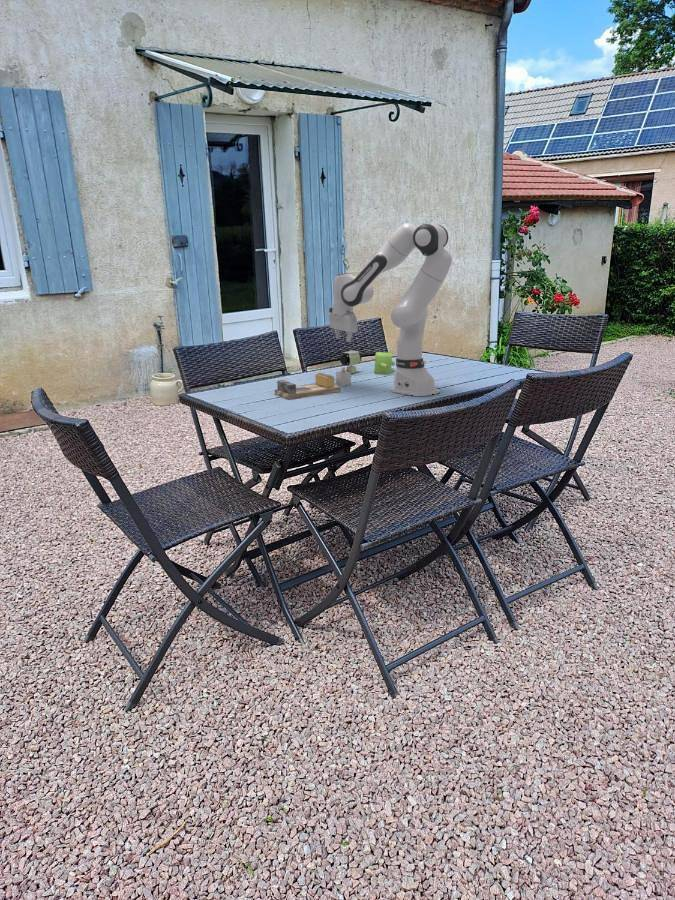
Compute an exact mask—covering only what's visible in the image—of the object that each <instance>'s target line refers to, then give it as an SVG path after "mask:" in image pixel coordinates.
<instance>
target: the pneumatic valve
mask: <svg viewBox="0 0 675 900" xmlns="http://www.w3.org/2000/svg"><path fill="white" fill-rule="evenodd" d="M362 358H363V357H362V353H361V351H360V350H353V349H349V351H344V352H343V351H342V352H341V355H340V356H339V361H340V363H341V366H346V367H345V371H348V372H351V375H353V374H356V373H357V372H356V371H357V366H355V365H359V364H361V362H362ZM352 373H353V374H352Z"/></svg>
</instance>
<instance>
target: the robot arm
mask: <svg viewBox="0 0 675 900" xmlns="http://www.w3.org/2000/svg"><path fill="white" fill-rule="evenodd" d="M448 242H449V232H448V231H447V229H446V228H445V227H444V226H443V225H440V224H436V223H431V222H430V223H422V224H420V225H419V226H416V225H415V224H413V223H411V222H404V223H402V225H401V226H399V227H398V228H396V230H394V231H393V233H392V234H391V235H390V236H389V237H388V239H386V241H385V242H384V244H383V245H382V246H381V248H380V249H379V250H378V251H377V253H376V254H375V256H373V258H372V260H370V262H368V264H367V265H366V266H365V267H364V268H363V269H362V270H361V272H360V273H359V274H358V275H357V276H354V275H353V274H352V273H350V272H346V273H345V272H344V273H341V274H340V273H339V274H337V275H336V276H335V277H334V279H333V297H334V298H333V299H334V300H333V305H332V306H331V307H329V308H328V313H329V315H328V318H329V319H328V322H329V323H328V325H329V326H330V327H329V328H330V329H334V334H335V338H336V340H341V339H342V336H341V333H340V331H342V332H346V337H345V341H346V342H347V343H351V341H352V338H353V337H352V336H353V334H355V333H357V332H358V319H357V316H356V313H355V312H354V307H355V306H358V305H361V304H365V303H367V302H370V300H372V298H373V297H374V288H373V286H372V283H373V282H374V281H375V280H376V278H377V277H378V276H380V275H381V274H382V273H385V272H386V271H389V270H391V269H395V268H397V267H398V266H399V265H400V264H402V262H404V261H405V260H406V259H407V258H408V256H409V255H410V254H411V253H412V251H414V250H415V249H418V250H419V252H420V253H421V255H423V256H425V258H424V259H425V260H424V262H423V264H422V265H421V267H420V269H419V270H418V273H417V274H416V276H415V278H414V279H413V281H412V283H411V285H410V286H409V287H408V289H407V290H406V292H405V293H404V294H403V296H402V297H401V298H400V299H399V301H398V303H396V306H394V308H392V310H391V313H390V320H391V322H392V324H393V325H394V326H395V327H397V328H399V329H400V330H399V334H398V337H397V341H396V358H395V366H396V370H395V372H394V378H393V387H392V388H391V393H396V394H402V395H406V394H407V396H411V395H413V396H412V397H426V396H432V394H434V395H437V393H438V394H440V393H441V390H440V389H438V388H436V387H435V385H436V384H435V378H434V377H433V376H432V375H431V374H430V372H429V371H428V370H427V369H426V367H425V364H426V360H424V358H423V339H424V338H423V337H424V332H425V326H426V321H427V320H426V319H427V317H428V314H429V309H428V305H429V304H430V303H431V302H432V300H433V299H434V298H436V297H435V296H436V295H437V293H438V291H439V289H440V288H441V286H442V284H443V282H444V281H445V279H446V277H447V275H448V273H449V271H450V268H451V266H452V263H453V257H452V254H451V253H450V252H449V251H448V250H446V248H445V247H446V245H447V244H448ZM439 392H440V393H439Z"/></svg>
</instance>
